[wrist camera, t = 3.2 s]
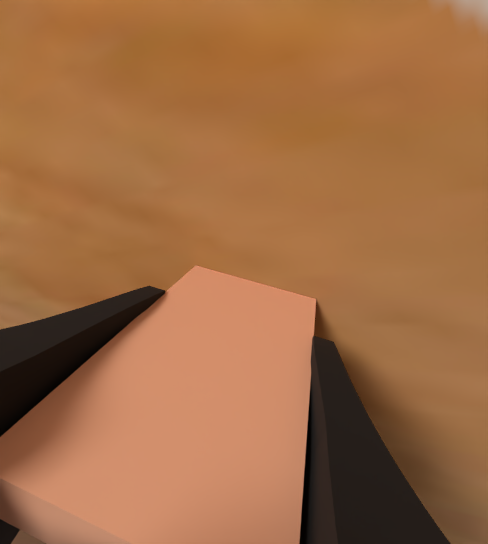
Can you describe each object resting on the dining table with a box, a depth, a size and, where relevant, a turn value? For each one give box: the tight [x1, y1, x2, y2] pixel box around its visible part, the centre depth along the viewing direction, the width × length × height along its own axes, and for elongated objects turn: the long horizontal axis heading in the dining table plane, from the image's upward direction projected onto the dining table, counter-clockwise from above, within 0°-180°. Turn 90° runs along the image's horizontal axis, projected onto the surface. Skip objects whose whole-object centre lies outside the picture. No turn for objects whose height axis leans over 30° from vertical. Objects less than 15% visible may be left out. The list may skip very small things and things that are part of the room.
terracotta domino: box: [0, 266, 316, 544], centre depth 8 cm, size 2×5×8 cm, turn 80°
